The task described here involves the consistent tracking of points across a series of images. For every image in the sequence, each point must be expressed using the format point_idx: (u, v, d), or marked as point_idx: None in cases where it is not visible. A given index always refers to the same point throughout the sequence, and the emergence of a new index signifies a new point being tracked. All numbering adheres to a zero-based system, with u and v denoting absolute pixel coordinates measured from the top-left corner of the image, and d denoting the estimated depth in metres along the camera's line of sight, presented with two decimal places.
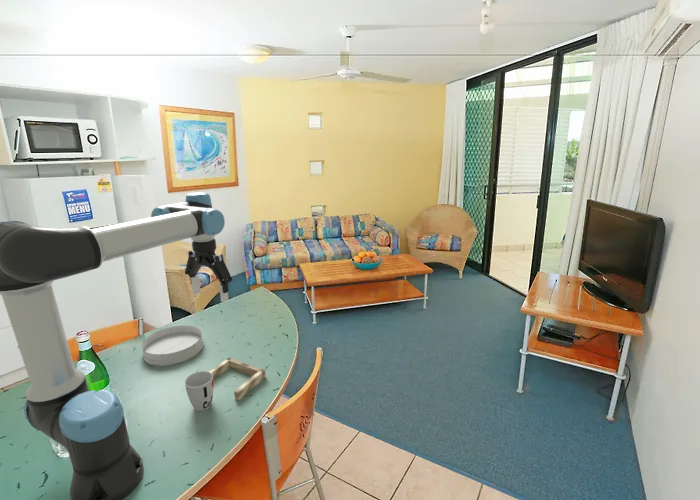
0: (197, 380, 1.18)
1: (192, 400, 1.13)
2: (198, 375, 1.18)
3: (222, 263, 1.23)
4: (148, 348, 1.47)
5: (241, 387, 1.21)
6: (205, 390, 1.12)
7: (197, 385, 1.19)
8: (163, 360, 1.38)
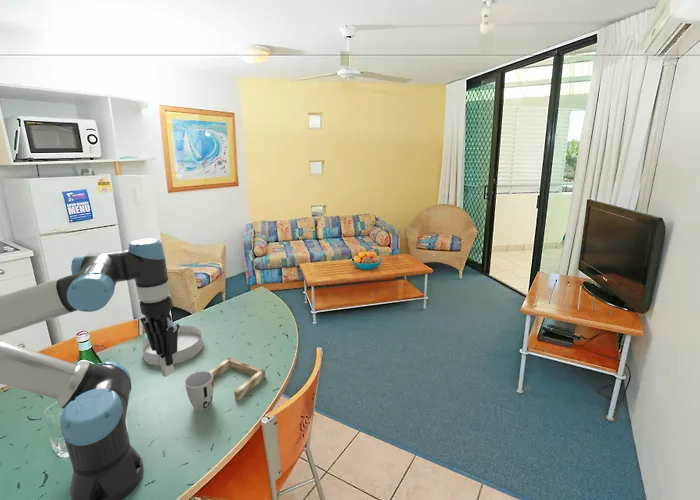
0: (197, 380, 1.18)
1: (192, 400, 1.13)
2: (198, 375, 1.18)
3: (174, 334, 0.98)
4: (148, 348, 1.47)
5: (241, 387, 1.21)
6: (205, 390, 1.12)
7: (197, 385, 1.19)
8: None
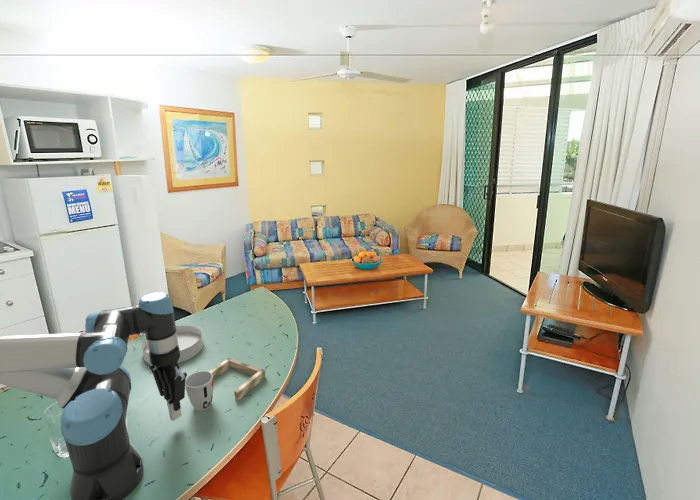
0: (197, 380, 1.18)
1: (192, 400, 1.13)
2: (198, 375, 1.18)
3: (182, 382, 1.02)
4: None
5: (241, 387, 1.21)
6: (205, 390, 1.12)
7: (197, 385, 1.19)
8: None
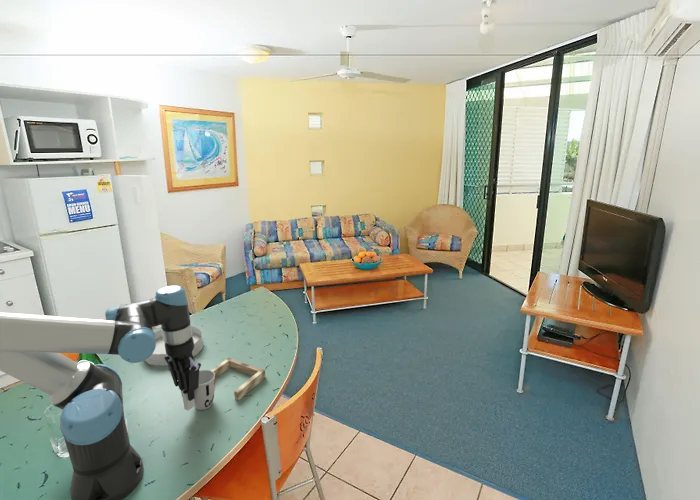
0: (199, 379, 1.19)
1: (194, 398, 1.13)
2: (199, 374, 1.19)
3: (196, 372, 1.06)
4: None
5: (241, 387, 1.21)
6: (207, 388, 1.13)
7: (199, 384, 1.19)
8: (163, 360, 1.38)
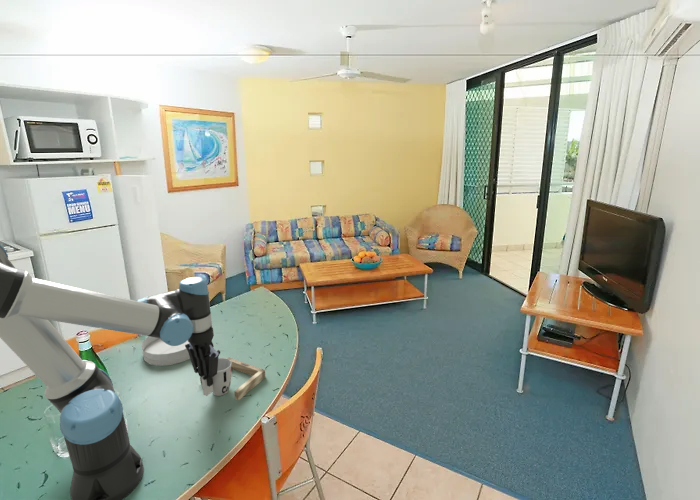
0: None
1: None
2: None
3: (216, 359, 1.13)
4: (148, 348, 1.47)
5: (241, 387, 1.21)
6: (224, 374, 1.19)
7: None
8: (163, 360, 1.38)
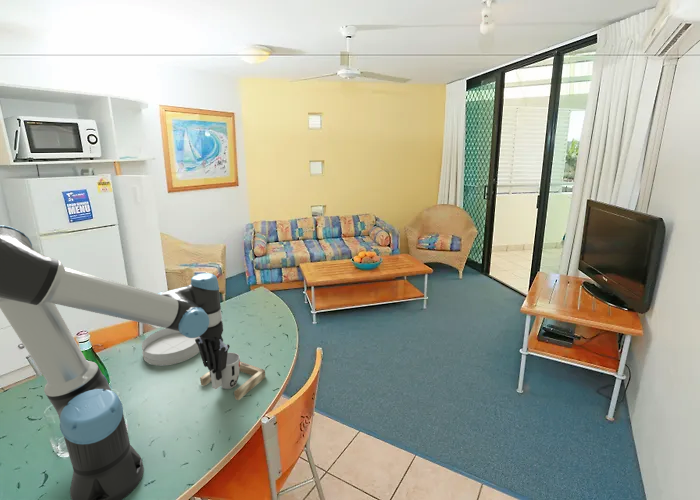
0: None
1: None
2: None
3: (225, 353, 1.16)
4: (148, 348, 1.47)
5: (241, 387, 1.21)
6: (233, 368, 1.23)
7: None
8: (163, 360, 1.38)
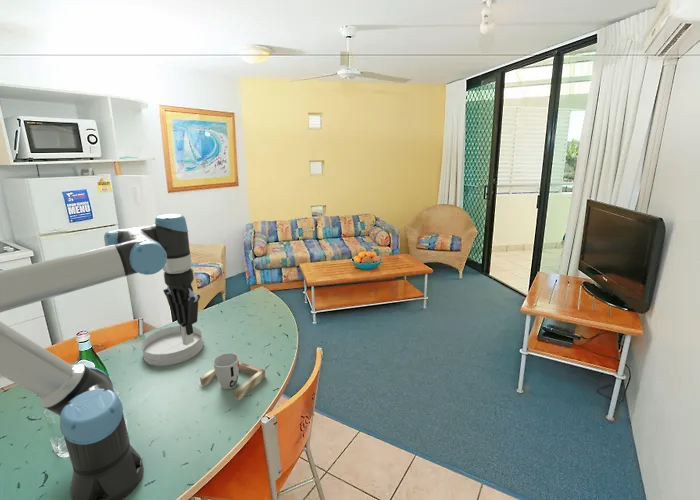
0: (224, 361, 1.28)
1: (220, 379, 1.23)
2: (224, 357, 1.28)
3: (195, 304, 1.05)
4: (148, 348, 1.47)
5: (241, 387, 1.21)
6: (232, 369, 1.22)
7: (224, 366, 1.28)
8: (163, 360, 1.38)
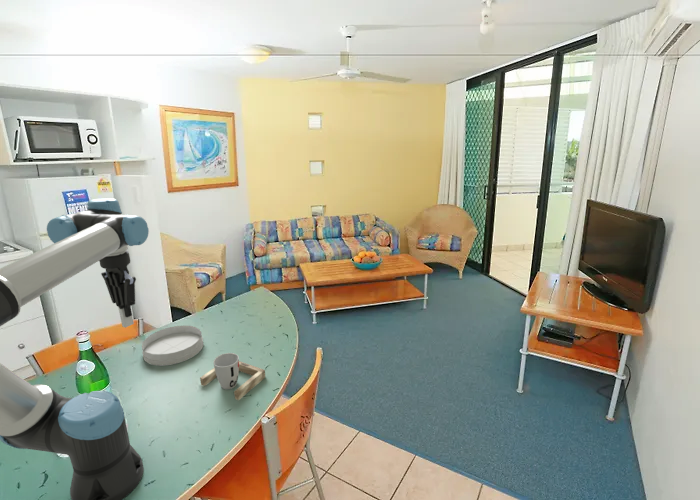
0: (224, 361, 1.28)
1: (220, 379, 1.23)
2: (225, 357, 1.28)
3: (131, 286, 1.08)
4: (148, 348, 1.47)
5: (241, 387, 1.21)
6: (232, 369, 1.22)
7: (224, 366, 1.28)
8: (163, 360, 1.38)
